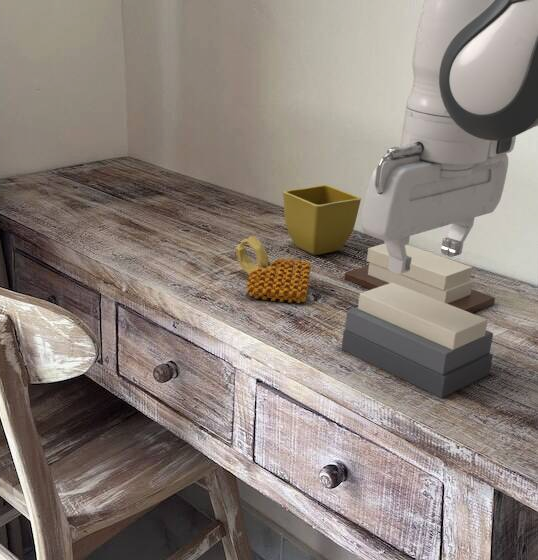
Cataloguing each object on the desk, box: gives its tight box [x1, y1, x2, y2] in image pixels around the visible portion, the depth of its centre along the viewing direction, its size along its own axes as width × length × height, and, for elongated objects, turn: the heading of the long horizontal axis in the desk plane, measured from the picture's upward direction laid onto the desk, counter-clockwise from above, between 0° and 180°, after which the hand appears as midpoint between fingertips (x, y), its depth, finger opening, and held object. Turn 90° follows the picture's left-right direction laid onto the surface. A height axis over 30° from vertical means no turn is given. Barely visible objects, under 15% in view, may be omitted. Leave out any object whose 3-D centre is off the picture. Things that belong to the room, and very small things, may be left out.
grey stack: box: [341, 306, 494, 399], centre depth 92 cm, size 14×9×5 cm, turn 40°
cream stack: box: [344, 243, 496, 314], centre depth 112 cm, size 18×10×5 cm, turn 40°
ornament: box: [235, 235, 312, 304], centre depth 112 cm, size 7×10×15 cm
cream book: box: [357, 283, 489, 350], centre depth 91 cm, size 13×6×2 cm, turn 40°
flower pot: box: [282, 184, 362, 256], centre depth 126 cm, size 9×9×9 cm
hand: (425, 263), depth 89 cm, fingers open, 8 cm apart
